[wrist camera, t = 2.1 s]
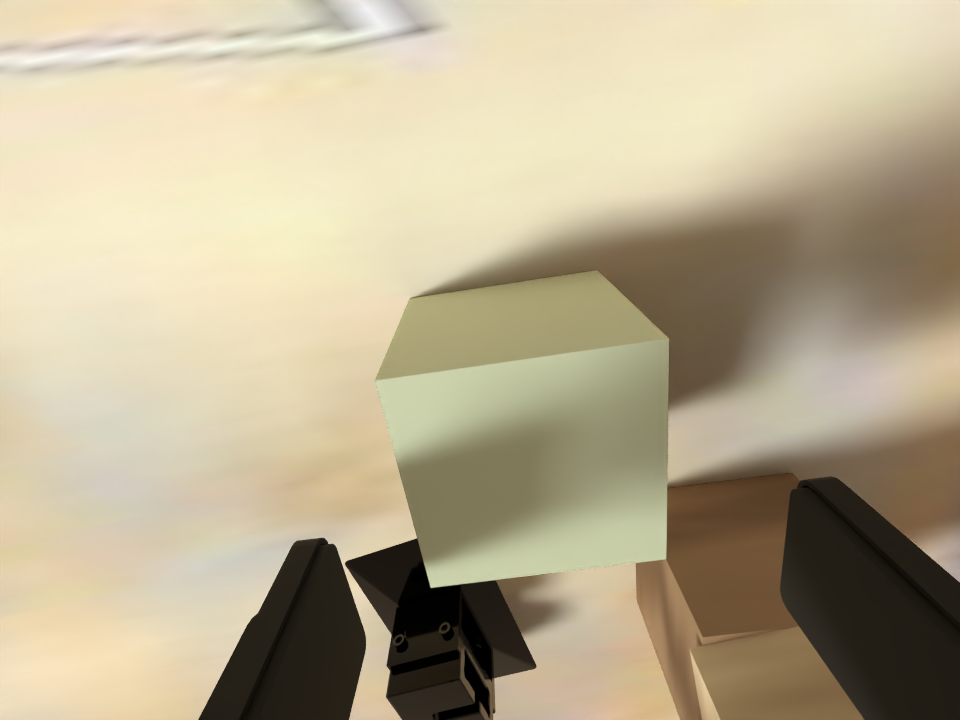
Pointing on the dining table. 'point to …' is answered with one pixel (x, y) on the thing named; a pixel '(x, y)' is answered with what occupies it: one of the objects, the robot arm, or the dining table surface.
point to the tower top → (768, 680)
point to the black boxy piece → (440, 637)
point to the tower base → (715, 574)
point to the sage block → (530, 428)
